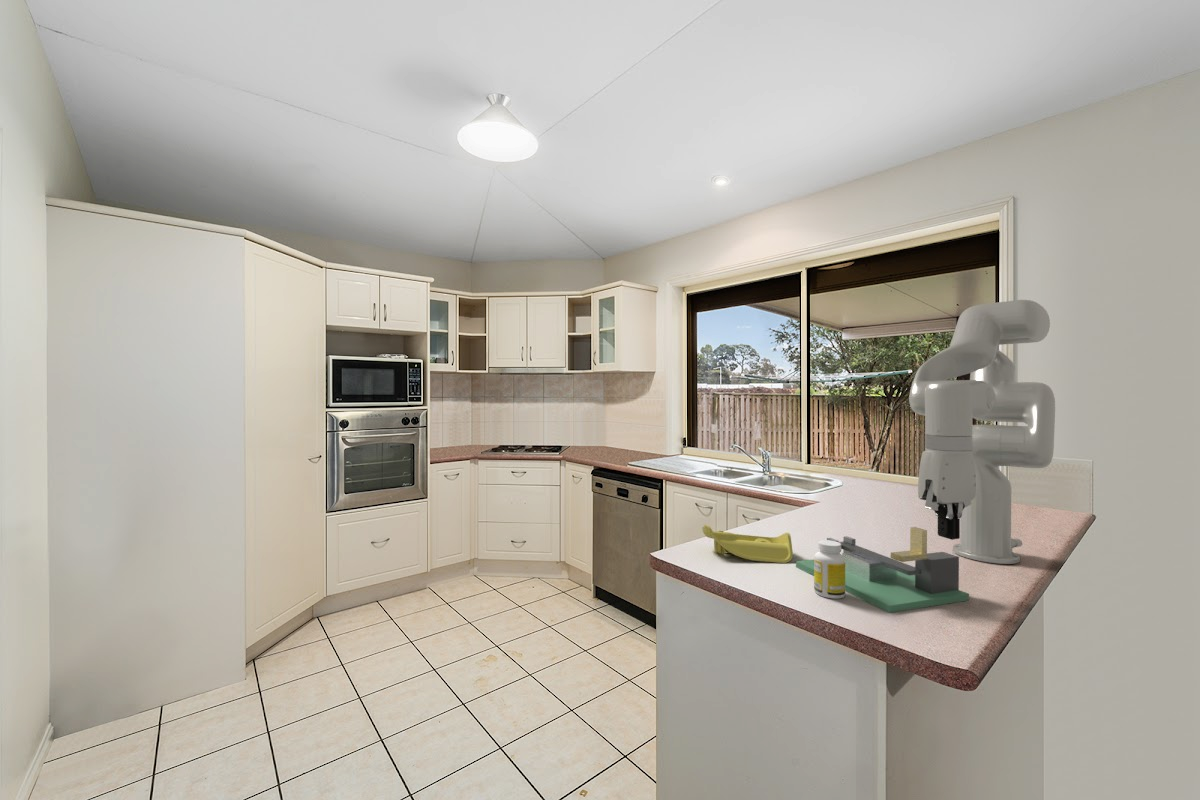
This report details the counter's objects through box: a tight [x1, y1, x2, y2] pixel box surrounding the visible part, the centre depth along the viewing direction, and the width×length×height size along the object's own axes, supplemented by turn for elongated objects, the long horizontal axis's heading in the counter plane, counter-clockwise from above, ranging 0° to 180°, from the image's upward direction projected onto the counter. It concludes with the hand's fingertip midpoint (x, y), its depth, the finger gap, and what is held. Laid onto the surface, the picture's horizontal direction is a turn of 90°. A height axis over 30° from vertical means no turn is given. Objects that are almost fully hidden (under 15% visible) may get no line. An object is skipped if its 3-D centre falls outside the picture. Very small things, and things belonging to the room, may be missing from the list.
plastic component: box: [701, 524, 794, 564], centre depth 116 cm, size 20×7×10 cm
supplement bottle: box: [813, 539, 846, 600], centre depth 92 cm, size 5×5×10 cm
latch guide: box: [914, 551, 960, 594], centre depth 92 cm, size 7×3×6 cm, turn 107°
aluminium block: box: [841, 552, 897, 581], centre depth 100 cm, size 7×7×4 cm
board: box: [795, 535, 970, 613], centre depth 98 cm, size 19×24×6 cm
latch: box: [890, 526, 928, 563], centre depth 90 cm, size 6×2×5 cm, turn 107°
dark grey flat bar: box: [839, 541, 921, 575], centre depth 99 cm, size 3×18×1 cm, turn 17°
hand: (948, 537), depth 94 cm, fingers closed
